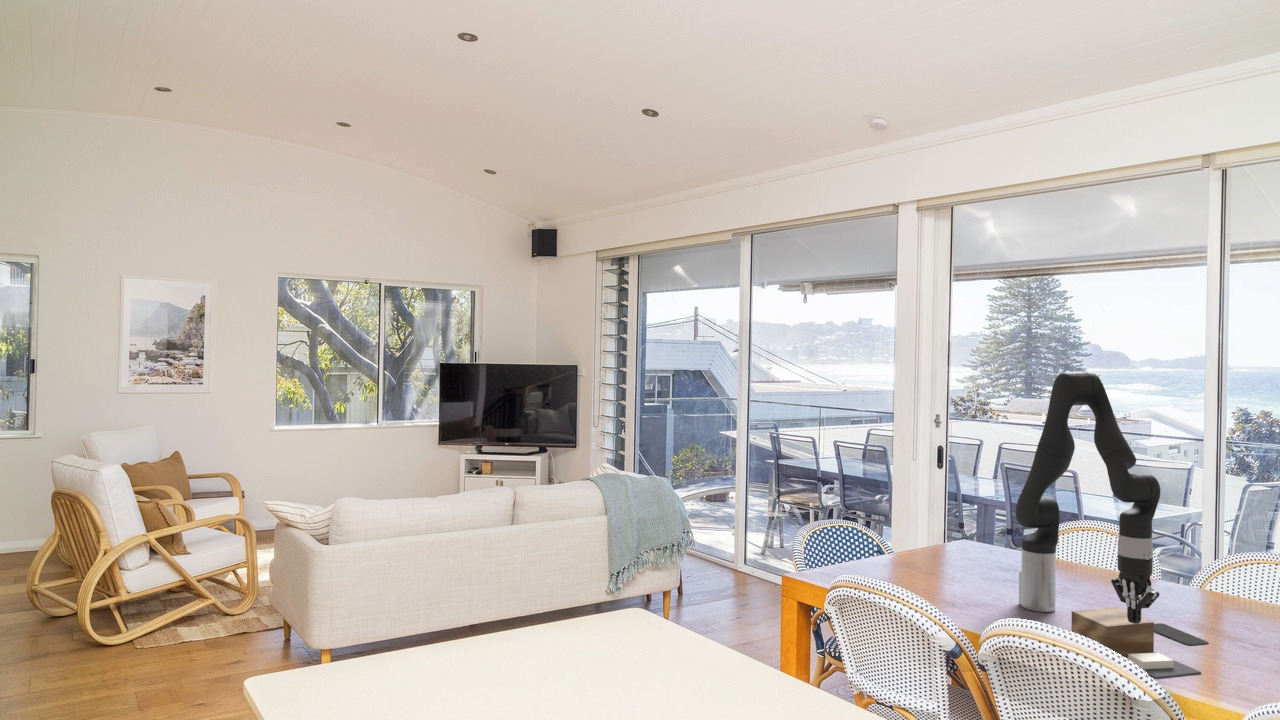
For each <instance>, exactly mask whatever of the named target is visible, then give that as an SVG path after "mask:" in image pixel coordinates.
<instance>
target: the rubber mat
mask: <svg viewBox="0 0 1280 720" xmlns="http://www.w3.org/2000/svg"><path fill="white" fill-rule="evenodd" d="M1151 653H1157V652H1156V651H1154V652H1151ZM1122 656H1124V657H1126V658H1128V655H1122ZM1173 660H1174V659H1173ZM1145 671H1146V672H1147V673H1148V674H1150V675H1151V676H1150V677H1152V678H1154V679H1156V680H1157V679H1164V678H1172V677H1174V678H1175V677H1182V676H1192V675H1200V674H1202V671H1199V670H1198V669H1195V668H1193V667H1191V666H1189V665H1186V664H1184V663H1181V662H1179V661H1177V660H1174V668H1169V669H1147V670H1145Z"/></svg>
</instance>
